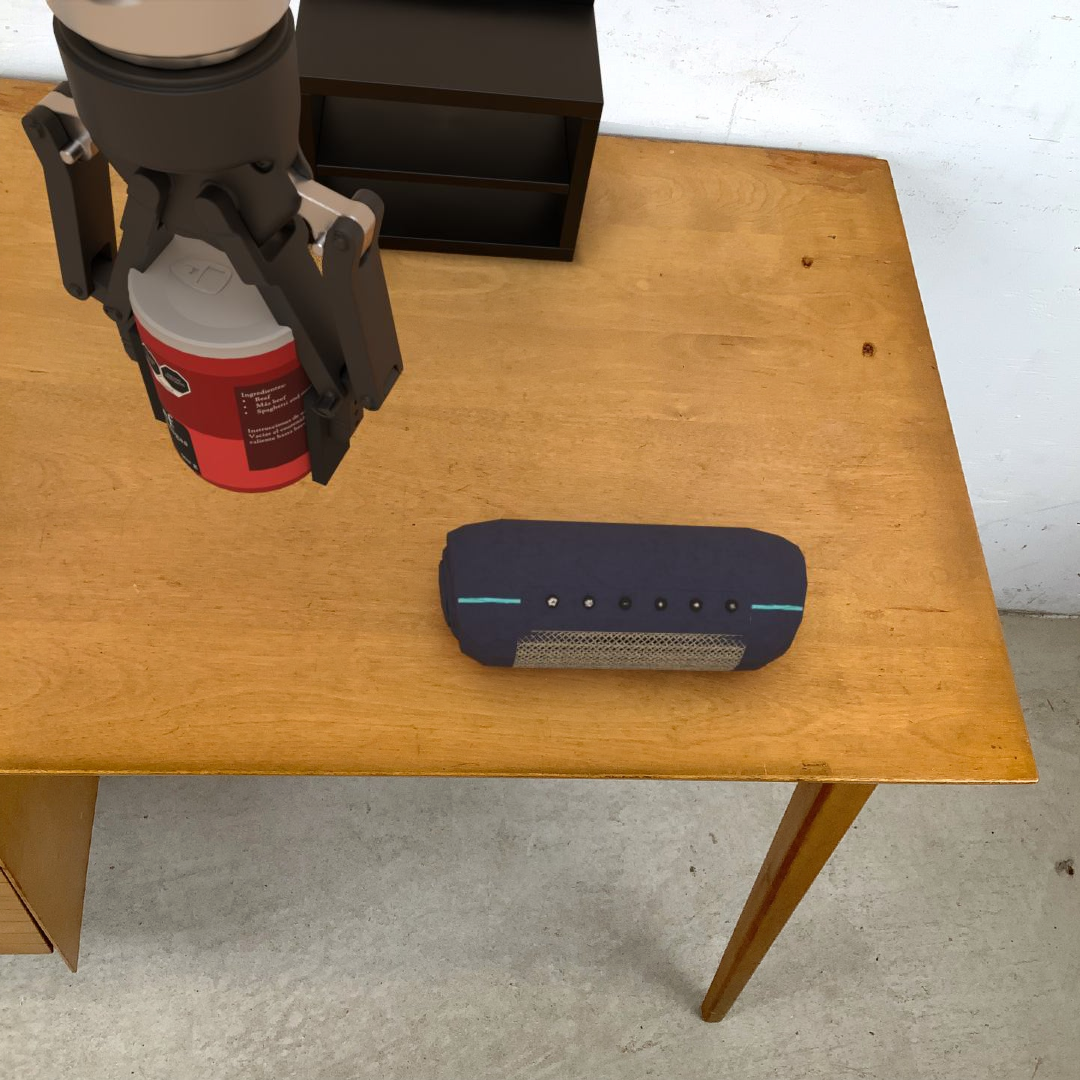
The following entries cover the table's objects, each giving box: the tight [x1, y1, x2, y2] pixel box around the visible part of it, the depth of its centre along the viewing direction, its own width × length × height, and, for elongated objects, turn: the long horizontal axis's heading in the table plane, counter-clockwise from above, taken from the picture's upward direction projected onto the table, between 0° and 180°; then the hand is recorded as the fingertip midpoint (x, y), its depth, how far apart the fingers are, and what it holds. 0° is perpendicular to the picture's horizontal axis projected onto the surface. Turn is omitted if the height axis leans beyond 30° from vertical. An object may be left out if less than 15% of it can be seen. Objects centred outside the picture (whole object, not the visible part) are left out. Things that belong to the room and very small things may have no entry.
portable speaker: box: [438, 518, 809, 672], centre depth 69 cm, size 25×10×10 cm, turn 92°
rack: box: [295, 0, 605, 263], centre depth 87 cm, size 14×24×18 cm, turn 92°
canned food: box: [128, 234, 312, 494], centre depth 47 cm, size 8×8×11 cm
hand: (253, 432), depth 52 cm, fingers closed on canned food, 8 cm apart
